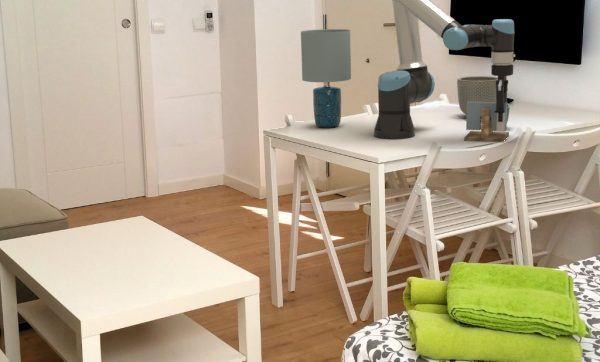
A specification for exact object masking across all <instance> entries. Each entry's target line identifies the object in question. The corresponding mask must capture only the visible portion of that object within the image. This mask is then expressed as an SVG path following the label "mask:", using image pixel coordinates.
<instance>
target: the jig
mask: <svg viewBox="0 0 600 362" xmlns="http://www.w3.org/2000/svg"><path fill="white" fill-rule="evenodd" d="M509 135H510V132H509V131H492V117H490V108H483V109H482V110H481V130H469V132H468V133H467V134H466V135H465V136H464V141H465V142H490V143H491V142H492V143H495V142H496V143H502V142H501V141H504V140H505V139H506V138H507V137H508V138H509ZM508 138H507V139H508ZM507 139H506V140H507ZM506 140H505V141H506Z"/></svg>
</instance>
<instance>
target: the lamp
mask: <svg viewBox="0 0 600 362" xmlns="http://www.w3.org/2000/svg"><path fill="white" fill-rule="evenodd" d="M300 47H301V49H300V51H301V53H300V54H301V77H302V78H301V79H302V81H303V82H307V83H323V86H319V87H315V88H313V89H312V99H313V100H312V101H313V106H312V107H313V117H314V122H315V125H316V126H317V127H318V128H321V129H322V128H323V129H326V128H327V129H331V128H336V127H338V126H339V125H341V119H342V89H341V88H340V87H337V86H331V83H335V82H338V83H339V82H345V81H346V82H347V81H349V80H351V79H352V58H351V57H352V55H351V30H350V29H346V28H345V29H344V28H343V29H341V28H330V29H329V28H325V29H321V28H320V29H309V30H308V29H307V30H301V31H300Z"/></svg>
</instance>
